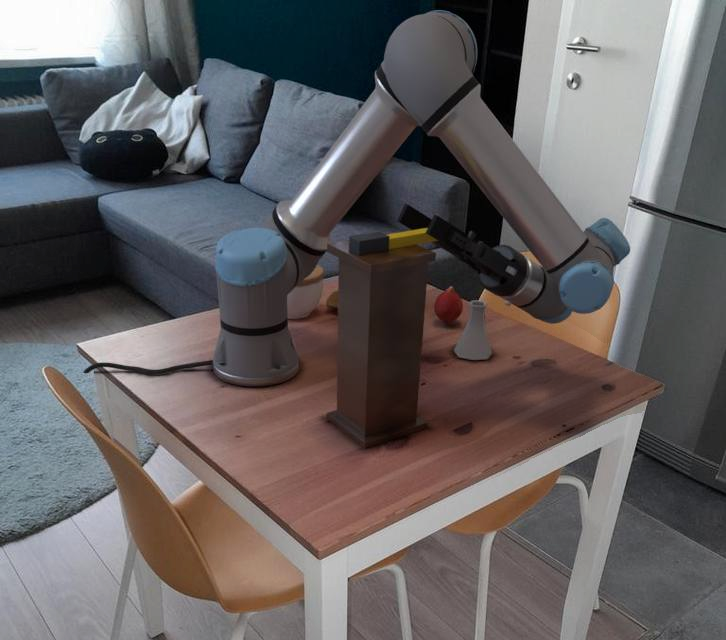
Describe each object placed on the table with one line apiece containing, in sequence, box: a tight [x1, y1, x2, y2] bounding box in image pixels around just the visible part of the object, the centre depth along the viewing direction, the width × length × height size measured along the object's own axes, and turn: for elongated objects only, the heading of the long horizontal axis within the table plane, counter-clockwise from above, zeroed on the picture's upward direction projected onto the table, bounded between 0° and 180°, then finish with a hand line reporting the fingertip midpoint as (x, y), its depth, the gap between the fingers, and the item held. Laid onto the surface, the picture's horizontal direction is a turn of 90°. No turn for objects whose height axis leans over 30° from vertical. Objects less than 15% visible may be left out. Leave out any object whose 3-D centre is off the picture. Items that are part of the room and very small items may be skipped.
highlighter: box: [348, 228, 438, 256], centre depth 113 cm, size 16×3×2 cm, turn 124°
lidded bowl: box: [287, 264, 325, 320], centre depth 163 cm, size 13×13×11 cm
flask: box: [453, 299, 493, 361], centre depth 149 cm, size 7×7×10 cm
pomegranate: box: [433, 286, 464, 325], centre depth 161 cm, size 6×6×8 cm
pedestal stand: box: [325, 232, 437, 449], centre depth 120 cm, size 12×11×28 cm
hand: (416, 218), depth 113 cm, fingers open, 6 cm apart
